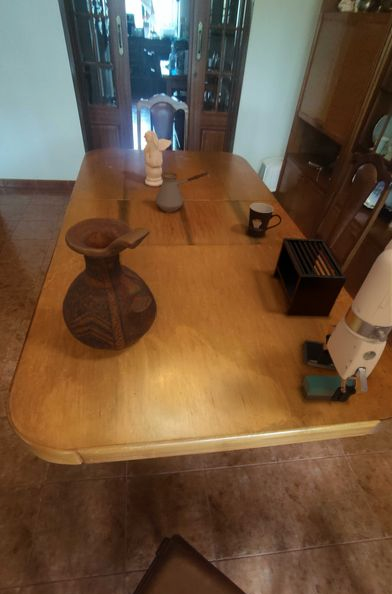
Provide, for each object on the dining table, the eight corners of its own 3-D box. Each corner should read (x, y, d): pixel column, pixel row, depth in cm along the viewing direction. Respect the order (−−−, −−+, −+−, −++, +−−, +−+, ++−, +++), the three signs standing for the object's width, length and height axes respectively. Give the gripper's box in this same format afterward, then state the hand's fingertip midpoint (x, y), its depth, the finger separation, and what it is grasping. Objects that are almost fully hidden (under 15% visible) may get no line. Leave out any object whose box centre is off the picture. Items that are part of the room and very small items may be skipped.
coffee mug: (240, 232, 122) (245, 206, 115) (254, 226, 127) (260, 200, 119) (263, 244, 117) (270, 218, 110) (277, 238, 121) (285, 212, 114)
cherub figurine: (145, 178, 154) (143, 124, 138) (170, 179, 156) (171, 126, 140) (144, 187, 146) (141, 131, 130) (171, 189, 147) (171, 133, 131)
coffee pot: (153, 212, 129) (152, 172, 118) (157, 201, 137) (156, 162, 126) (205, 217, 129) (209, 177, 118) (206, 205, 137) (210, 167, 126)
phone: (369, 374, 75) (305, 361, 76) (367, 377, 75) (303, 364, 77) (364, 350, 80) (304, 338, 81) (362, 353, 81) (303, 341, 82)
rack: (308, 276, 104) (323, 239, 95) (328, 316, 90) (347, 278, 81) (273, 275, 103) (283, 237, 94) (287, 315, 89) (301, 276, 80)
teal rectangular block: (342, 388, 73) (350, 375, 69) (347, 401, 70) (356, 389, 67) (299, 387, 72) (306, 375, 69) (304, 400, 70) (310, 388, 66)
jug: (67, 368, 71) (24, 245, 50) (70, 307, 85) (37, 191, 64) (163, 355, 76) (162, 238, 54) (151, 300, 90) (146, 189, 68)
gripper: (414, 358, 49) (363, 416, 62) (368, 291, 61) (333, 351, 74) (368, 356, 49) (326, 416, 61) (331, 289, 61) (302, 350, 73)
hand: (330, 380), depth 67 cm, fingers open, 9 cm apart
